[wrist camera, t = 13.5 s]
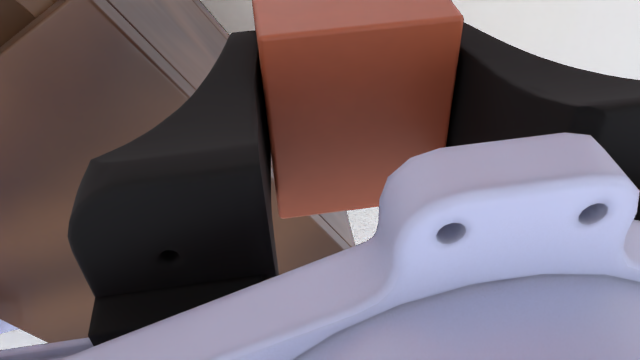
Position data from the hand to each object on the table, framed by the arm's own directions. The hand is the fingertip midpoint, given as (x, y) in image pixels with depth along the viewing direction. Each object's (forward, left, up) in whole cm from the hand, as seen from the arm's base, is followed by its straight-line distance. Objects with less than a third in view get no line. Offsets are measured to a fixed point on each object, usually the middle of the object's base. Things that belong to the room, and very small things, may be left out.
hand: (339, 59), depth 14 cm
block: (0, 0, -1) cm, 1 cm away
